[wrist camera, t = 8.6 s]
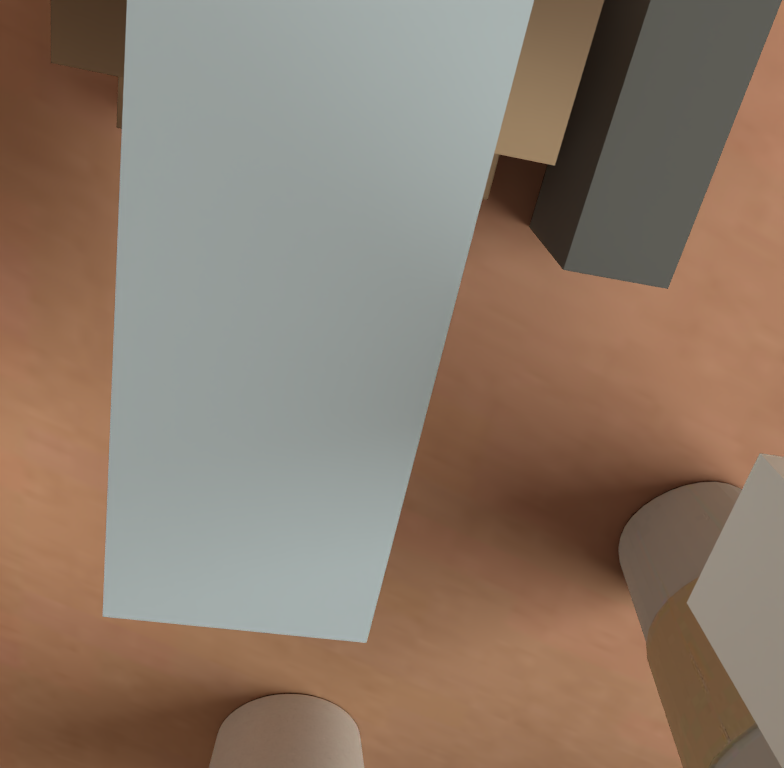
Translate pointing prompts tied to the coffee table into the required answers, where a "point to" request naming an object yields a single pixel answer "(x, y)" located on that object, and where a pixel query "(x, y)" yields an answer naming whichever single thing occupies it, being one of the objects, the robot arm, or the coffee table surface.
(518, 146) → the fulcrum
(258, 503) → the beam
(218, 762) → the coffee cup
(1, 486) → the coffee table surface
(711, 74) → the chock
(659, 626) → the coffee cup
